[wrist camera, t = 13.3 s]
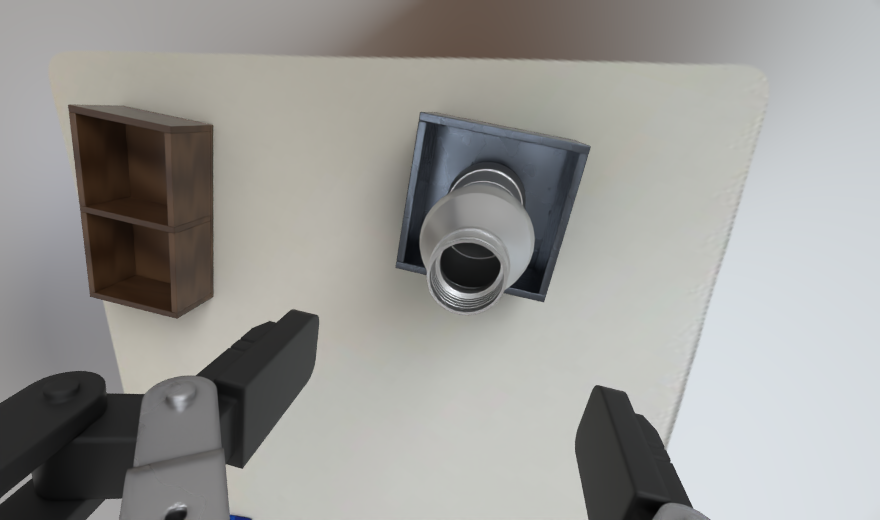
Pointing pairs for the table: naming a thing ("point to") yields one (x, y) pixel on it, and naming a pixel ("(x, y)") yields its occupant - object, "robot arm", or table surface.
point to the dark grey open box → (524, 152)
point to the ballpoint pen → (238, 518)
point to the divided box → (145, 206)
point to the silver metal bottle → (477, 239)
